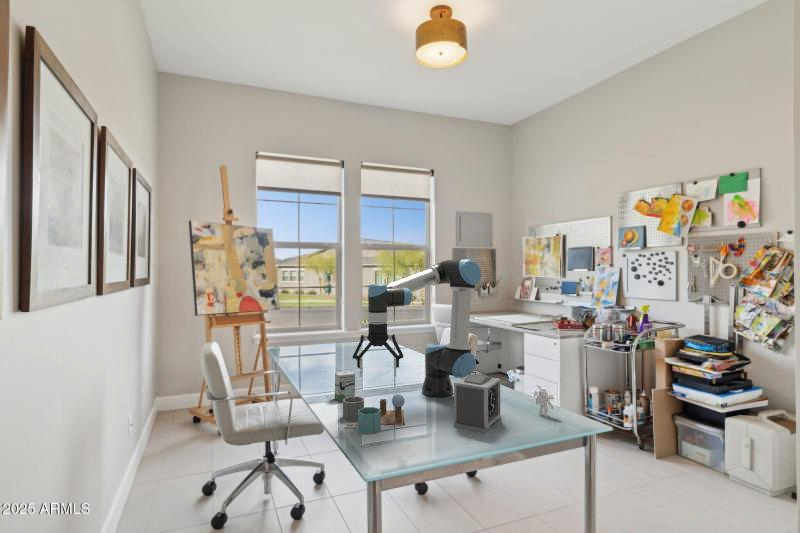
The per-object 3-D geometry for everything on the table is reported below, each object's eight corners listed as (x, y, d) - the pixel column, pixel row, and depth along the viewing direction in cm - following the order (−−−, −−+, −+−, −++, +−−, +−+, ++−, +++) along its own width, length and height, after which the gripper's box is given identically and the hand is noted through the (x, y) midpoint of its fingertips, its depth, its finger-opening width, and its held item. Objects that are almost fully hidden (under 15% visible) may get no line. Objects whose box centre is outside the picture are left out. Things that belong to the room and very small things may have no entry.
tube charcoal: (364, 413, 177) (364, 396, 177) (363, 420, 169) (363, 402, 169) (344, 413, 177) (344, 396, 177) (342, 420, 168) (342, 402, 169)
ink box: (337, 401, 193) (337, 375, 194) (334, 398, 198) (334, 372, 198) (355, 398, 197) (355, 373, 198) (351, 395, 202) (351, 370, 202)
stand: (403, 411, 180) (403, 397, 180) (404, 424, 164) (404, 409, 164) (377, 411, 180) (377, 397, 180) (376, 425, 164) (376, 410, 164)
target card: (363, 423, 165) (363, 421, 165) (362, 428, 160) (362, 426, 160) (345, 423, 165) (345, 422, 165) (344, 428, 160) (344, 426, 160)
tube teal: (380, 425, 163) (380, 407, 163) (380, 433, 155) (380, 414, 155) (358, 425, 163) (358, 407, 163) (357, 434, 155) (357, 414, 155)
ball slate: (404, 405, 170) (404, 392, 170) (404, 409, 165) (404, 396, 165) (391, 405, 170) (391, 392, 170) (391, 409, 165) (391, 396, 165)
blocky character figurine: (531, 413, 177) (531, 384, 177) (537, 411, 180) (537, 382, 180) (550, 419, 170) (550, 389, 170) (556, 417, 172) (556, 387, 173)
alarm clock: (485, 434, 155) (485, 383, 155) (452, 427, 162) (452, 378, 162) (501, 419, 170) (501, 373, 171) (471, 413, 177) (471, 369, 178)
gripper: (408, 321, 174) (409, 373, 174) (347, 321, 174) (348, 373, 174) (409, 323, 166) (409, 378, 166) (345, 324, 167) (345, 378, 166)
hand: (378, 376), depth 170 cm, fingers open, 13 cm apart
